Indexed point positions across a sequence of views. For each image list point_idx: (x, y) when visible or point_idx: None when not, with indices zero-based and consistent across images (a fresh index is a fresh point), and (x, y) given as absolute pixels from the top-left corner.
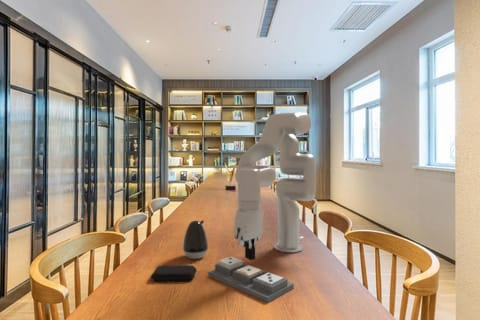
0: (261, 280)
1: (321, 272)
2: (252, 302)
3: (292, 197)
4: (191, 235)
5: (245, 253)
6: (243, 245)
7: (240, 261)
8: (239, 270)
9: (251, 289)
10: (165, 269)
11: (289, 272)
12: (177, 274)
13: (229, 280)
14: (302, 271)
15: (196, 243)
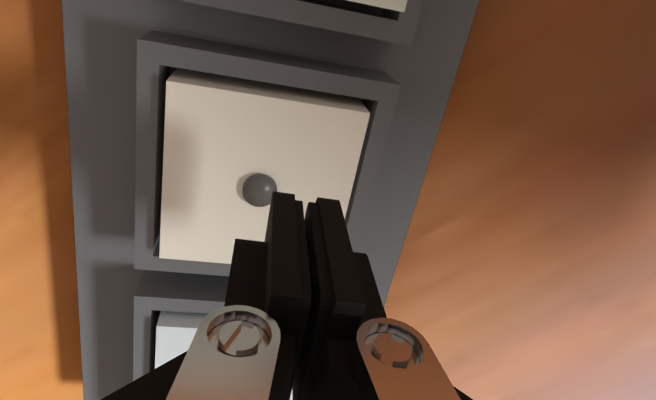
0: (156, 362)
1: (612, 394)
2: (22, 325)
3: None
4: None
5: (233, 259)
6: (145, 378)
7: (368, 3)
8: (180, 118)
9: (90, 290)
10: None
11: (555, 279)
12: None
13: (71, 48)
14: (596, 325)
15: None
